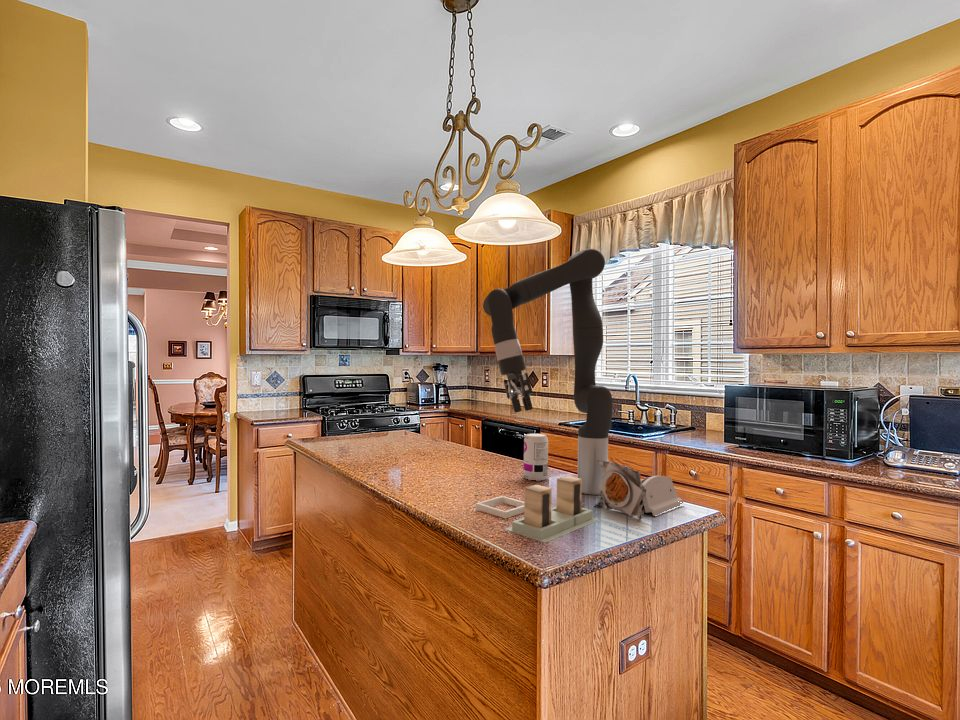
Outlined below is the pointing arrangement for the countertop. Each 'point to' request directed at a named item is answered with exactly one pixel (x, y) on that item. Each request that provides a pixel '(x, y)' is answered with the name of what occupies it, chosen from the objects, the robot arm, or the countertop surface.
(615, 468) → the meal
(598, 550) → the countertop surface
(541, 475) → the supplement can
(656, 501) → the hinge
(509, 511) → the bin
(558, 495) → the block
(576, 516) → the green slotted tray
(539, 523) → the block
